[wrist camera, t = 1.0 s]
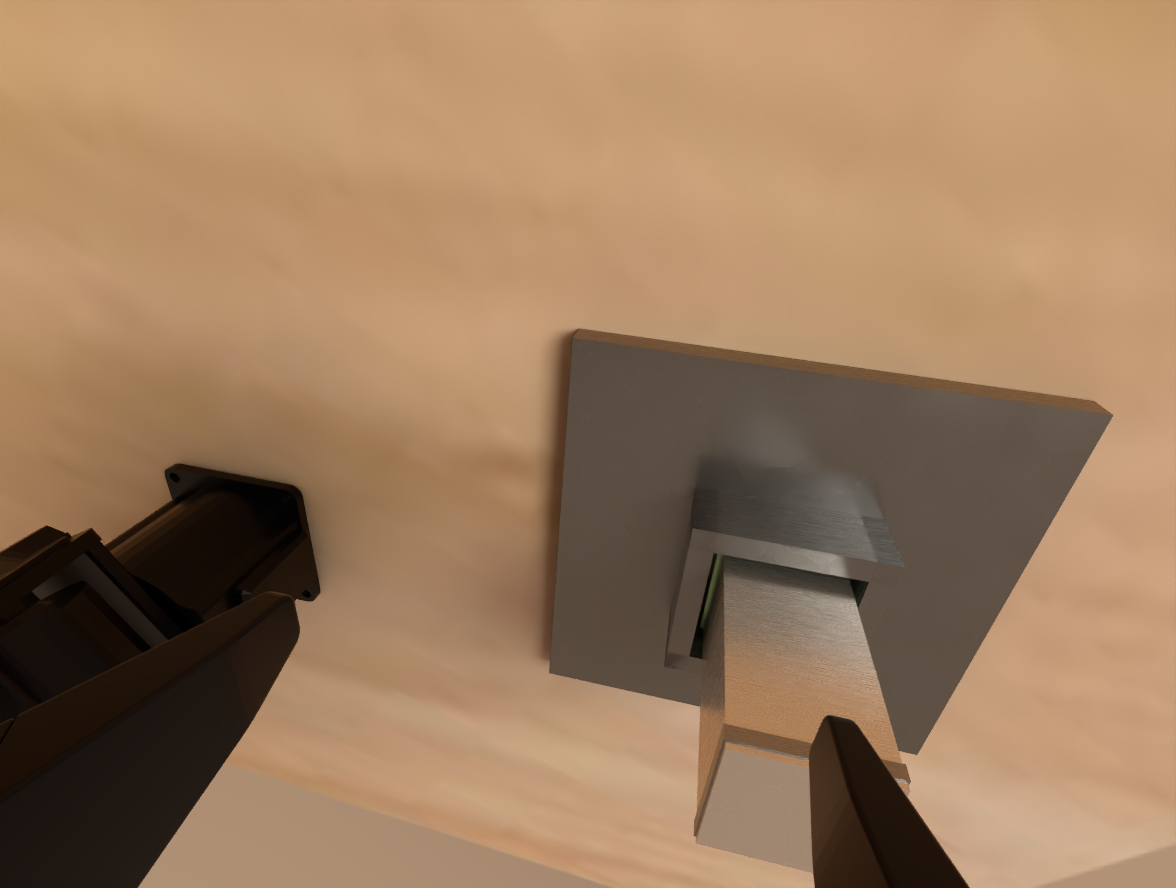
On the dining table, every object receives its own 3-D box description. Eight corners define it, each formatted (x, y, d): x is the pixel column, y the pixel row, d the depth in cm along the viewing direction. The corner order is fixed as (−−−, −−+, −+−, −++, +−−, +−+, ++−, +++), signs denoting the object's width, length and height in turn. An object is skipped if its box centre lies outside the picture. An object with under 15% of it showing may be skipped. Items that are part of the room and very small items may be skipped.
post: (700, 603, 23) (691, 844, 15) (720, 517, 21) (721, 744, 13) (809, 625, 23) (857, 886, 15) (842, 539, 20) (916, 789, 13)
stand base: (554, 656, 28) (534, 720, 25) (579, 328, 20) (553, 364, 17) (910, 733, 25) (936, 815, 22) (1094, 401, 18) (1171, 457, 15)
